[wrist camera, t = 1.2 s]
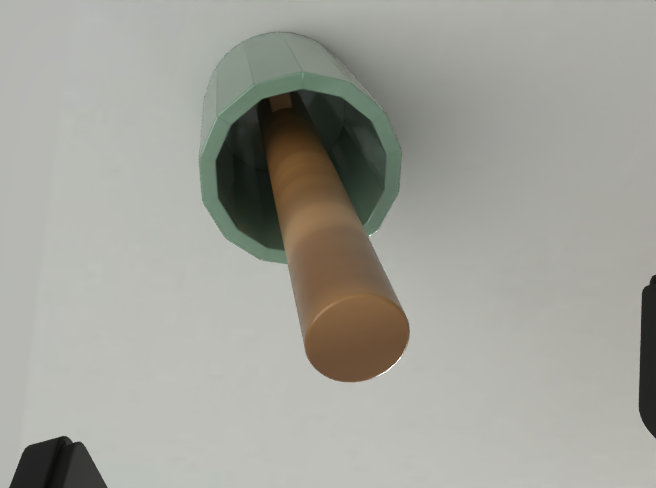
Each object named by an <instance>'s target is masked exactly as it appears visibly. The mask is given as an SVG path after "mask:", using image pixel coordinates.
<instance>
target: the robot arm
mask: <svg viewBox="0 0 656 488" xmlns="http://www.w3.org/2000/svg"><path fill="white" fill-rule="evenodd" d="M639 412H640V416H641V418H642V421H643V423H644V424H645V426H646V428H647V429H648V430H649V431H650V433H651V434H652V435H653V436H654V437H655V438H656V275H654V276H652V278H651V280H650V285H649V286H646V287H644V289H643V292H642V312H641V346H640V381H639ZM9 488H107V486H106V484H105V482H104V480H103V479H102V477H101V475H100V473H99V471H98V469H97V468H96V466H95V464H94V462H93V460H92V458H91V457H90V455H89V453H88V451H87V449H86V447H85V446H84V445H83V443H81V442H75V443H73V442H72V441H71V440H70V439H69V438H68V437H67V436H62V437H58V438H55V439H51V440H47V441H44V442H40V443H36V444H33V445H29V446H28V447H26V448H25V450H24V452H23V453H22V456H21V459H20V461H19V464H18V466H17V469H16V472H15V474H14V477H13V480H12V482H11V485H10V487H9Z"/></svg>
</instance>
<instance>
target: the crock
mask: <svg viewBox="0 0 656 488" xmlns="http://www.w3.org/2000/svg"><path fill="white" fill-rule="evenodd" d="M289 92H295V93H296V94H297V95H298V96H299V97H300V98H301V99H302V101H303V102H304V104H305V107H306V109H307V111H308V113H309V115H310V117H311V119H312V121H313V123H314V125H315V127H316V129H317V132H318V134H319V136H320V138H321V140H322V142H323V144H324V146H325V148H326V150H327V152H328V154H329V157H330V159H331V161H332V163H333V165H334V167H335V169H336V171H337V173H338V175H339V177H340V179H341V182H342V184H343V186H344V188H345V190H346V192H347V194H348V196H349V198H350V200H351V202H352V204H353V207H354V209H355V211H356V213H357V215H358V217H359V219H360V221H361V223H362V225H363V227H364V229H365V232H366V234H367V236H368V237H369V236H371V235H372V234H373V233H375V232H376V231H377V230H378V229H379V227H380V226H381V224H382V222H383V220H384V218H385V217H386V215H387V213H388V211H389V210H390V208H391V206H392V204H393V202H394V201H395V199H396V197H397V195H398V192H399V185H400V171H401V157H402V151H401V147H400V144H399V142H398V140H397V137H396V135H395V133H394V130H393V128H392V126H391V123H390V121H389V118H388V116H387V114H386V112H385V111H384V109H383V108H382V107H381V106H380V104H379V103H378V102H377V101H376V100H375V99H374V98H373V97H372V96H371V94H370V93H369V92H368V91H367V90H366V89H365V88H364V87H363V86H362V84H361V83H360V82H359V81H358V80H357V79H356V78H355V77H354V76H353V74H352V73H351V72H350V71H349V70H348V69H347V68H346V67H345V65H344V64H343V63H342V62H341V61H340V60H338V59H337V58H336V57H335V56H333V55H332V54H331V53H330V52H329V51H328V50H327V49H326V48H324V47H323V46H322V45H320V44H319V43H318V42H317V41H314V40H312V39H309V38H307V37H304V36H301V35H297V34H293V33H285V32H274V33H267V34H261V35H258V36H255V37H252V38H250V39H248V40H246V41H244V42H242V43H240V44H239V45H237V46H236V47H234V48H233V49H232V50H231V51H230V52H228V53H227V54H226V55H225V57H224V58H223V59H222V60H221V61H220V62H219V64H218V66H217V67H216V69H215V70H214V72H213V74H212V76H211V79H210V81H209V85H208V88H207V91H206V94H205V96H204V103H203V115H202V127H201V139H200V151H199V169H200V181H201V193H202V201H203V204H204V206H205V207H206V209H207V210H208V212H209V213H210V215H211V217H212V218H213V220H214V221H215V223H216V225H217V226H218V228H219V229H220V231H221V232H222V234H223V236H224V237H225V238H226V239H227V240H229V241H230V242H232V243H234V244H235V245H237V246H238V247H240V248H242V249H243V250H245V251H247V252H248V253H250V254H251V255H253V256H255V257H256V258H258V259H259V260H262V261H268V262H275V263H283V264H288V263H287V258H286V254H285V249H284V244H283V239H282V234H281V229H280V224H279V219H278V214H277V209H276V205H275V200H274V195H273V190H272V185H271V180H270V175H269V170H268V165H267V160H266V156H265V151H264V146H263V141H262V136H261V131H260V126H259V121H258V116H257V110H258V106H259V103H260V101H261V100H262V99H265V98H269V97H273V96H277V95H281V94H285V93H289Z"/></svg>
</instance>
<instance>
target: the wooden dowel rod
mask: <svg viewBox="0 0 656 488" xmlns="http://www.w3.org/2000/svg"><path fill="white" fill-rule="evenodd" d="M257 116H258V121H259V126H260V131H261V136H262V141H263V146H264V151H265V156H266V160H267V165H268V170H269V175H270V180H271V185H272V190H273V195H274V200H275V205H276V209H277V214H278V219H279V224H280V229H281V234H282V239H283V244H284V249H285V254H286V258H287V263H288V268H289V273H290V278H291V283H292V288H293V293H294V298H295V303H296V308H297V312H298V317H299V322H300V327H301V332H302V337H303V342H304V347H305V352H306V355H307V358H308V360H309V361H310V363H311V364H312V365H313V367H314V368H315V369H316V370H317V371H318V372H320V373H321V374H323V375H324V376H326V377H328V378H330V379H333V380H336V381H341V382H361V381H366V380H369V379H372V378H375V377H377V376H379V375H381V374H383V373H385V372H386V371H388V370H389V369H390V368H392V367H393V366H394V365H395V364H396V363H397V362H398V361H399V359H400V358H401V357H402V355H403V353H404V352H405V350H406V347H407V344H408V340H409V333H410V329H409V323H408V319H407V317H406V315H405V313H404V311H403V309H402V307H401V304H400V302H399V300H398V298H397V296H396V294H395V292H394V290H393V288H392V286H391V284H390V282H389V279H388V277H387V275H386V273H385V271H384V269H383V267H382V265H381V263H380V261H379V259H378V257H377V254H376V252H375V250H374V248H373V246H372V244H371V242H370V240H369V238H368V236H367V234H366V232H365V229H364V227H363V225H362V223H361V221H360V219H359V217H358V215H357V213H356V211H355V209H354V207H353V204H352V202H351V200H350V198H349V196H348V194H347V192H346V190H345V188H344V186H343V184H342V182H341V179H340V177H339V175H338V173H337V171H336V169H335V167H334V165H333V163H332V161H331V159H330V157H329V154H328V152H327V150H326V148H325V146H324V144H323V142H322V140H321V138H320V136H319V134H318V132H317V129H316V127H315V125H314V123H313V121H312V119H311V117H310V115H309V113H308V111H307V109H306V107H305V104H304V102H303V101H302V99H301V98H300V97H299V96H298V95H297V94H296V93H295V92H289V93H285V94H281V95H277V96H273V97H269V98H265V99H262V100H261V101H260V103H259V106H258V110H257Z"/></svg>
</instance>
